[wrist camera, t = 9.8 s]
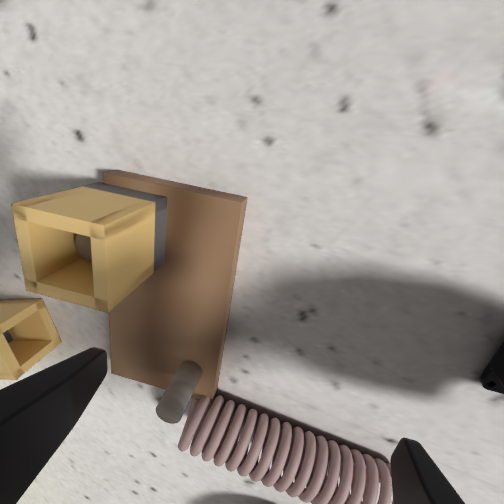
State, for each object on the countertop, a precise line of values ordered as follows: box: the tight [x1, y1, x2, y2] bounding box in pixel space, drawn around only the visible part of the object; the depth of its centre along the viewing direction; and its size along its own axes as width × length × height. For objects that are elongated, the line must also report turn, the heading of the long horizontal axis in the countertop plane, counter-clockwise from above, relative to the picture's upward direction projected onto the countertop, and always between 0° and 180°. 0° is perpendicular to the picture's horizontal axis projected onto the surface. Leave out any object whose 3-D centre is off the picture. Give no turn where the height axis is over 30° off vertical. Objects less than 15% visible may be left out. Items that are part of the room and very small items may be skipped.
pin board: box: [75, 170, 247, 424], centre depth 20 cm, size 9×17×6 cm, turn 171°
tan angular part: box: [0, 299, 61, 380], centre depth 25 cm, size 5×5×6 cm
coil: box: [178, 396, 394, 504], centre depth 24 cm, size 5×5×18 cm
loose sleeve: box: [11, 182, 167, 313], centre depth 17 cm, size 5×5×6 cm
